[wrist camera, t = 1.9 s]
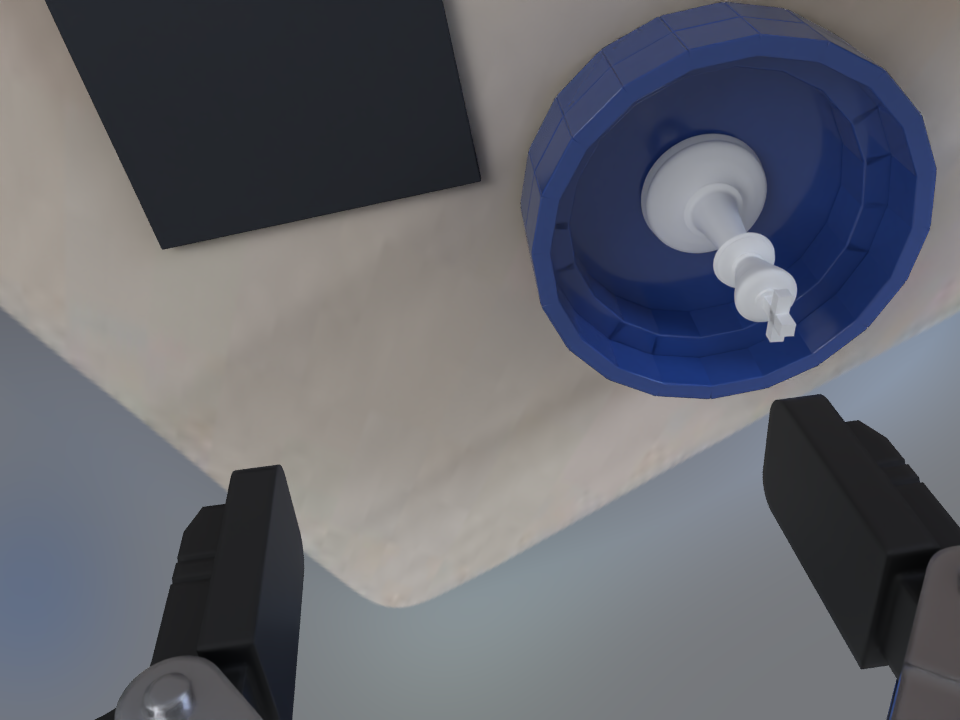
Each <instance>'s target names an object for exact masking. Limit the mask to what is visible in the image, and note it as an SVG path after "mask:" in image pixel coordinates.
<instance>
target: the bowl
mask: <svg viewBox="0 0 960 720" xmlns="http://www.w3.org/2000/svg"><path fill="white" fill-rule="evenodd" d="M703 134H724V135H728V136H732V137H734V138H737V139H739V140H741V141H743V142H744V143H746V144H747V145H748V146H749V147H750V148H751V149H752V150H753V151H754V152H755V153H756V155H757V156H758V158H759V160H760V162H761V165H762V167H763V170H764V172H765V176H766V181H767V194H766V200H765V203H764V206H763V209H762V211H761V213H760V215H759V217H758V219H757V220H756V222H755V223H754V224H753V226H752V227H751V228H750V229H749V230H748V231H747V232H752V233H758V234H761V235H763V236H765V237H766V238H768V239H769V240H770V242H771V243H772V245H773V247H774V251H775V262H774V265H775V266H778V267H780V268H782V269H784V270H785V271H787V272H788V273H789V274H790V275H791V276H792V277H793V278H794V280H795V282H796V285H797V295H796V298H795V301H794V303H793V304H792V306H791V307H790V311H789V314H790V316H791V317H792V319H793V320H794V322H795V323H796V328H795V332H794V336H788V337H784V341H782V342H770V341H769V340H768V338H767V336H766V330H767V325H768V321H767V322H754V321H750V320H748V319H746V318H744V317H743V316H742V315H741V314H740V313H739V312H738V310H737V308H736V305H735V300H734V291H735V288H733V287H730V286H728V285H726V284H724V283H723V282H721V281H720V280H719V279H718V278H717V276H716V275H715V272H714V268H713V261H714V257H715V255H716V252H717V251H718V250H715V251H711V252H706V253H687V252H682V251H678V250H675V249H673V248H671V247H669V246H667V245H666V244H664V243H663V242H662V241H661V240H659V239H658V237H657V236H656V235H655V234H654V233H653V232H652V231H651V230H650V228H649V227H648V225H647V223H646V221H645V219H644V217H643V213H642V208H641V193H642V188H643V184H644V181H645V179H646V176H647V174H648V172H649V171H650V169H651V167H652V166H653V165H654V163H655V162H656V161H657V160H658V159H659V157H660V156H661V155H662V154H664V153H665V152H666V151H667V150H668V149H670V148H671V147H672V146H674V145H676V144H677V143H679V142H681V141H683V140H685V139H688V138H691V137H694V136H697V135H703ZM935 181H936V165H935V161H934V158H933V154H932V150H931V146H930V143H929V139H928V135H927V132H926V128H925V124H924V121H923V117H922V115H921V113H920V112H919V111H918V109H917V108H916V107H915V106H914V104H913V103H912V102H911V101H910V100H909V98H908V97H907V96H906V95H905V93H904V92H903V91H902V90H901V88H900V87H899V86H898V85H897V84H896V82H895V81H894V80H893V79H892V77H891V76H890V75H889V74H888V72H887V71H886V70H884V69H883V68H882V67H881V66H879V65H878V64H876V63H875V62H874V61H872V60H871V59H870V58H868V57H867V56H865V55H864V54H863V53H861V52H860V51H858V50H857V49H855V48H854V47H853V46H851V45H850V44H848V43H847V42H846V41H844V40H843V39H842V38H840V37H839V36H837V35H836V34H834V33H832V32H831V31H829V30H827V29H825V28H823V27H821V26H819V25H817V24H815V23H813V22H811V21H809V20H807V19H805V18H804V17H802V16H800V15H798V14H796V13H794V12H792V11H790V10H787V9H786V10H785V9H784V8H778V7H769V6H759V5H750V4H741V3H732V2H725V3H723V2H719V3H715V4H711V5H706V6H702V7H697V8H693V9H688V10H684V11H679V12H675V13H670V14H666V15H662V16H660V17H656V18H655V19H653V20H651V21H649V22H648V23H646V24H644V25H642V26H641V27H639V28H637V29H635V30H634V31H632V32H630V33H629V34H627V35H625V36H623V37H622V38H620V39H618V40H616V41H615V42H613V43H611V44H609V45H608V46H606V47H604V48H602V51H599V52H598V53H597V54H596V55H595V56H594V57H593V58H592V59H591V60H590V61H589V63H588V64H587V65H586V66H585V67H584V68H583V69H582V70H581V71H580V72H579V73H578V74H577V75H576V76H575V77H574V78H573V79H572V80H571V81H570V82H569V83H568V85H567V86H566V87H565V88H564V89H563V90H562V91H561V92H560V93H559V94H558V95H557V97H556V98H555V99H554V101H553V103H552V105H551V107H550V109H549V111H548V113H547V115H546V117H545V119H544V121H543V123H542V125H541V127H540V129H539V131H538V133H537V135H536V137H535V139H534V141H533V143H532V145H531V147H530V149H529V152H528V157H527V164H526V171H525V177H524V184H523V190H522V197H521V203H520V204H521V212H522V217H523V222H524V227H525V233H526V238H527V243H528V248H529V253H530V258H531V262H532V267H533V271H534V276H535V281H536V285H537V290H538V294H539V299H540V303H541V305H542V308H543V310H544V312H545V313H546V315H547V316H548V318H549V320H550V321H551V323H552V324H553V326H554V328H555V329H556V331H557V332H558V334H559V335H560V337H561V339H562V340H563V342H564V343H565V345H566V347H567V348H568V349H569V350H570V351H571V352H572V353H574V354H575V355H576V356H578V357H579V358H580V359H582V360H583V361H584V362H586V363H587V364H588V365H589V366H591V367H592V368H593V369H595V370H596V371H597V372H599V373H600V374H601V375H603V376H604V377H605V378H606V379H609V380H611V381H613V382H616V383H619V384H622V385H625V386H628V387H631V388H634V389H637V390H639V391H642V392H645V393H648V394H651V395H654V396H663V397H681V398H699V399H710V398H711V399H714V398H719V397H724V396H730V395H735V394H740V393H745V392H750V391H755V390H760V389H765V388H769V387H771V386H773V385H775V384H778V383H780V382H782V381H784V380H787V379H789V378H791V377H793V376H795V375H798V374H800V373H802V372H804V371H807V370H809V369H811V368H813V367H816V366H818V365H819V363H822V362H823V361H825V360H826V359H827V358H829V357H830V356H831V355H833V354H834V353H835V352H837V351H838V350H839V349H841V348H842V347H843V346H845V345H846V344H847V343H849V342H850V341H851V340H853V339H854V338H855V337H857V336H858V335H859V334H861V333H862V332H863V331H865V330H866V329H867V327H869V326H870V325H871V323H872V322H873V321H874V320H875V319H876V317H877V316H878V315H879V314H880V312H881V311H882V310H883V309H884V308H885V306H886V305H887V304H888V303H889V302H890V300H891V299H892V298H893V297H894V295H895V294H896V293H897V292H898V291H899V289H900V288H901V287H902V286H903V284H904V283H905V281H907V279H908V277H909V274H910V272H911V270H912V268H913V265H914V263H915V261H916V259H917V257H918V254H919V252H920V250H921V248H922V245H923V243H924V241H925V239H926V237H927V234H928V232H929V230H930V226H931V217H932V208H933V199H934V190H935ZM747 232H746V233H747Z"/></svg>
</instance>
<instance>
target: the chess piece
mask: <svg viewBox="0 0 960 720" xmlns="http://www.w3.org/2000/svg"><path fill="white" fill-rule="evenodd" d="M766 194H767V181H766V176H765V172H764V170H763V167H762V165H761V162H760V160H759V158H758V156H757V155H756V153H755V152H754V151H753V150H752V149H751V148H750V147H749V146H748V145H747V144H746V143H744V142H743V141H741V140H739V139H737V138H734V137H732V136H728V135H724V134H703V135H697V136H694V137H691V138H688V139H685V140H683V141H681V142H679V143H677V144H676V145H674V146H672V147H671V148H670V149H668V150H667V151H666V152H665V153H664V154H662V155H661V156H660V157H659V159H658V160H657V161H656V162H655V163H654V165H653V166H652V167H651V169H650V171H649V172H648V174H647V176H646V179H645V181H644V184H643V188H642V193H641V208H642V213H643V217H644V219H645V221H646V223H647V225H648V227H649V228H650V230H651V231H652V232H653V233H654V234H655V235H656V236H657V237H658V239H659V240H661V241H662V242H663V243H664V244H666V245H667V246H669V247H671V248H673V249H675V250H678V251H682V252H687V253H706V252H711V251H715V250H718V251H717V252H716V255H715V257H714V261H713V268H714V272H715V275H716V276H717V278H718V279H719V280H720V281H721V282H723V283H724V284H726V285H728V286H730V287H733V288H735V291H734V300H735V305H736V308H737V310H738V312H739V313H740V314H741V315H742V316H743V317H744V318H746V319H748V320H750V321H754V322H767V321H768V325H767V330H766V336H767V338H768V340H769V341H770V342H782V341H784V337H788V336H794V332H795V328H796V323H795V322H794V320H793V319H792V317H791V316H790V314H789V311H790V307H791V306H792V304H793V303H794V301H795V298H796V295H797V285H796V282H795V280H794V278H793V277H792V276H791V275H790V274H789V273H788V272H787V271H785V270H784V269H782V268H780V267H778V266H775V265H774V262H775V251H774V247H773V245H772V243H771V242H770V240H769V239H768V238H766V237H765V236H763V235H761V234H758V233H752V232H747V231H748V230H749V229H750V228H751V227H752V226H753V224H754V223H755V222H756V220H757V219H758V217H759V215H760V213H761V211H762V209H763V206H764V203H765V200H766ZM746 232H747V233H746Z"/></svg>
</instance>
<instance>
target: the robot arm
mask: <svg viewBox="0 0 960 720" xmlns="http://www.w3.org/2000/svg"><path fill="white" fill-rule="evenodd" d="M763 486H764V491H765V496H766V500H767V503H768V505H769V508H770V510H771V512H772V513H773V515H774V517H775V519H776V520H777V522H778V524H779V526H780V528H781V529H782V531H783V533H784V535H785V536H786V538H787V539H788V542H789V543H790V545H791V547H792V549H793V550H794V552H795V554H796V556H797V557H798V559H799V561H800V563H801V565H802V566H803V568H804V570H805V571H806V573H807V575H808V577H809V579H810V580H811V582H812V584H813V586H814V587H815V589H816V591H817V593H818V594H819V596H820V598H821V600H822V601H823V603H824V605H825V607H826V609H827V610H828V612H829V614H830V616H831V617H832V619H833V621H834V623H835V624H836V626H837V628H838V630H839V631H840V633H841V635H842V637H843V638H844V640H845V642H846V644H847V645H848V647H849V649H850V651H851V652H852V654H853V656H854V658H855V660H856V661H857V663H858V665H859V667H860V668H861V669H867V668H874V667H880V666H887V665H889V667H890V668H891V670H892V672H893V673H894V674H895V676H896V678H897V680H896V684H895V688H894V692H893V695H892V699H891V703H890V708H889V712H888V716H887V720H960V527H959V526H958V525H957V524H956V522H955V521H954V520H953V519H952V517H951V516H950V515H949V514H948V513H947V511H946V510H945V509H944V508H943V506H942V505H941V504H940V503H939V501H938V500H937V499H936V498H935V497H934V495H933V494H932V493H931V492H930V490H929V489H928V488H927V487H926V485H925V484H924V483H923V482H922V483H920V481H919V477H918V476H917V474H916V473H915V472H914V471H913V470H912V468H911V467H910V466H909V465H908V464H907V465H906V464H905V460H904V458H903V457H902V456H901V455H900V454H899V452H898V451H897V450H896V449H895V447H894V446H893V445H892V444H891V442H889V440H888V439H887V438H886V437H884V436H883V435H881V434H880V433H878V432H876V431H875V430H873V429H872V428H870V427H869V426H867V425H865V424H864V423H862V422H861V421H859V420H857V421H849V422H845V421H843V419H842V417H841V416H840V415H839V414H838V412H837V411H836V410H835V408H834V407H833V406H832V405H831V403H830V402H829V400H828V399H827V398H826V397H825V396H823V395H821V394H817V395H810V396H802V397H795V398H787V399H780V400H775V401H774V402H773V403H772V405H771V409H770V415H769V423H768V432H767V440H766V449H765V457H764V466H763ZM177 559H178V563H176V565H175V569H174V573H173V577H172V582H173V584H172V585H171V586H170V589H169V593H168V598H167V601H166V605H165V610H164V614H163V617H162V622H161V626H160V630H159V634H158V638H157V642H156V646H155V650H154V654H153V658H152V662H151V665H150V667H149V668H147V669H146V670H145V671H143V672H142V673H140V674H139V675H138V676H137V677H136V678H135V679H134V680H133V681H131V683H130V684H129V685H128V686H127V687H126V689H125V690H124V692H123V694H122V695H121V697H120V699H119V701H118V704H117V706H116V708H115V709H114V710H112V711H110V712H109V713H107V714H105V715H104V716H101V717H99V718H97V719H95V720H292V715H293V703H294V691H295V678H296V666H297V653H298V640H299V629H300V616H301V604H302V590H303V577H304V555H303V545H302V539H301V534H300V530H299V526H298V523H297V519H296V515H295V511H294V507H293V504H292V500H291V496H290V492H289V488H288V485H287V481H286V477H285V474H284V471H283V468H282V466H281V465H272V466H265V467H257V468H250V469H242V470H235V471H233V472H232V475H231V479H230V484H229V489H228V494H227V499H226V504H222V505H214V506H207V507H202V509H201V510H200V511H199V513H198V514H197V515H196V517H195V518H194V519H193V520H192V522H191V523H190V524H189V526H188V527H187V528H186V530H185V531H184V533H183V537H182V541H181V546H180V549H179V554H178V558H177Z"/></svg>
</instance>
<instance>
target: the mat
mask: <svg viewBox="0 0 960 720" xmlns="http://www.w3.org/2000/svg"><path fill="white" fill-rule="evenodd" d="M45 2H46V4H47V6H48V8H49V10H50V12H51V14H52V17H53V19H54V21H55V23H56V25H57V27H58V29H59V31H60V34H61V36H62V38H63V40H64V42H65V44H66V46H67V48H68V51H69V53H70V55H71V57H72V59H73V61H74V63H75V65H76V68H77V70H78V72H79V74H80V76H81V78H82V80H83V82H84V85H85V87H86V89H87V91H88V93H89V95H90V97H91V99H92V102H93V104H94V106H95V108H96V110H97V112H98V114H99V116H100V119H101V121H102V123H103V125H104V127H105V129H106V131H107V133H108V136H109V138H110V140H111V142H112V144H113V146H114V148H115V150H116V153H117V155H118V157H119V159H120V161H121V163H122V165H123V167H124V170H125V172H126V174H127V176H128V178H129V180H130V182H131V184H132V187H133V189H134V191H135V193H136V195H137V197H138V199H139V201H140V204H141V206H142V208H143V210H144V212H145V214H146V216H147V218H148V221H149V223H150V225H151V227H152V229H153V231H154V233H155V235H156V238H157V240H158V242H159V244H160V246H161V248H162V249H163V250H164V249H168V248H173V247H177V246H182V245H187V244H191V243H196V242H201V241H205V240H210V239H215V238H219V237H224V236H229V235H233V234H238V233H243V232H247V231H252V230H257V229H261V228H266V227H271V226H275V225H280V224H285V223H289V222H294V221H299V220H303V219H308V218H312V217H317V216H322V215H326V214H331V213H336V212H340V211H345V210H350V209H354V208H359V207H364V206H368V205H373V204H378V203H382V202H387V201H392V200H396V199H401V198H406V197H410V196H415V195H420V194H424V193H429V192H434V191H438V190H443V189H447V188H452V187H457V186H461V185H466V184H471V183H475V182H480V181H481V176H480V171H479V167H478V162H477V158H476V153H475V148H474V144H473V139H472V135H471V130H470V125H469V121H468V116H467V112H466V107H465V102H464V98H463V93H462V89H461V84H460V79H459V75H458V70H457V66H456V61H455V57H454V52H453V47H452V43H451V38H450V34H449V29H448V24H447V20H446V15H445V11H444V6H443V1H442V0H45Z"/></svg>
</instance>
